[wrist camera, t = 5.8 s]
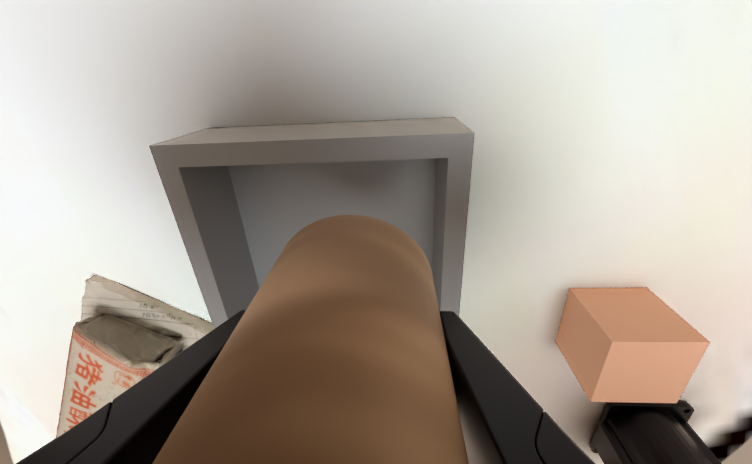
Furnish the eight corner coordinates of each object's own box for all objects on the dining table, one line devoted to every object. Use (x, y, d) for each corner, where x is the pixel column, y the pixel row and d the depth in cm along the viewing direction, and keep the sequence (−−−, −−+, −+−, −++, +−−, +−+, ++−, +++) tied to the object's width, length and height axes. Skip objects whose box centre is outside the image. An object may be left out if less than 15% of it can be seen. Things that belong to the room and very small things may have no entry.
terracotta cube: (645, 286, 22) (710, 342, 17) (624, 341, 24) (676, 403, 20) (569, 287, 22) (612, 341, 18) (554, 341, 24) (590, 401, 20)
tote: (454, 117, 18) (474, 132, 13) (440, 355, 26) (450, 416, 21) (208, 128, 19) (149, 145, 14) (269, 354, 27) (243, 411, 22)
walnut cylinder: (436, 213, 9) (535, 534, 3) (429, 344, 11) (476, 685, 5) (262, 215, 9) (-1, 511, 3) (290, 343, 12) (169, 664, 5)
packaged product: (142, 490, 29) (26, 452, 27) (175, 435, 33) (76, 400, 32) (190, 372, 22) (34, 311, 20) (225, 322, 26) (99, 268, 24)
